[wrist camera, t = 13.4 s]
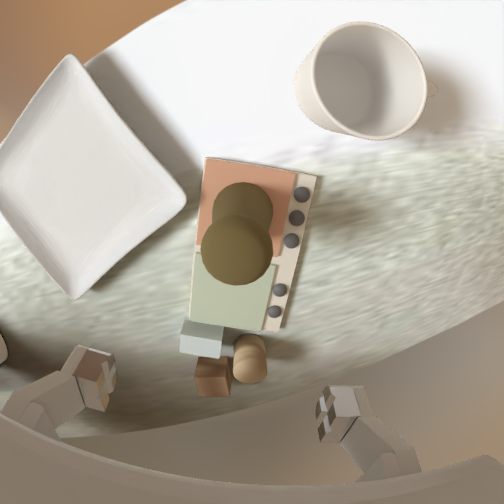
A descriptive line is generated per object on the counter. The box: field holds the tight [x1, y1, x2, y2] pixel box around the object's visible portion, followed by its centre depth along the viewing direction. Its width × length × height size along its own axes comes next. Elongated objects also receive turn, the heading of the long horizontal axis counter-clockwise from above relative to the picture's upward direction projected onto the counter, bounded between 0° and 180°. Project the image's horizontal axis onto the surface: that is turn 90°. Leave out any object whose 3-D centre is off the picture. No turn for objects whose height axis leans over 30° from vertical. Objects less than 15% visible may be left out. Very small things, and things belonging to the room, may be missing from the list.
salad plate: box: [0, 54, 188, 300], centre depth 30 cm, size 21×21×3 cm
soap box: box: [180, 320, 224, 359], centre depth 38 cm, size 5×3×3 cm, turn 81°
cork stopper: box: [233, 334, 267, 384], centre depth 37 cm, size 4×4×5 cm
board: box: [189, 157, 317, 332], centre depth 34 cm, size 11×19×1 cm, turn 171°
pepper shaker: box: [200, 182, 273, 286], centre depth 26 cm, size 6×6×11 cm
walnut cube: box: [194, 356, 232, 397], centre depth 40 cm, size 4×4×4 cm
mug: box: [294, 22, 437, 140], centre depth 22 cm, size 9×12×11 cm
